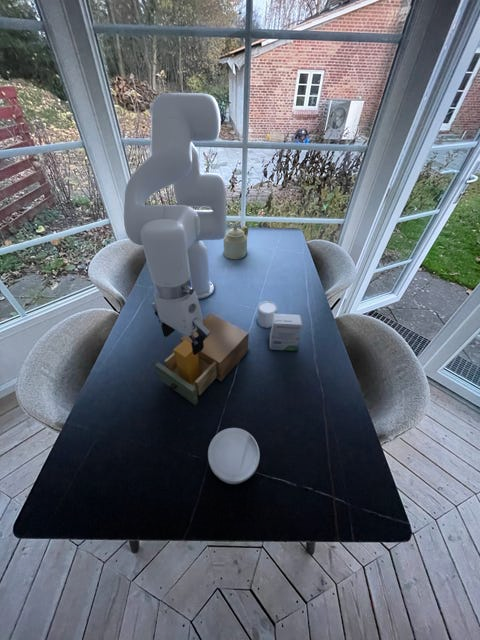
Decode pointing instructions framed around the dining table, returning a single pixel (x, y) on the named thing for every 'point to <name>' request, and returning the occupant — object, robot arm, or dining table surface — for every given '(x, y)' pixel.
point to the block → (187, 362)
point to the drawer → (180, 385)
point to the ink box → (285, 331)
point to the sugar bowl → (236, 242)
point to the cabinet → (222, 343)
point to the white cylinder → (266, 313)
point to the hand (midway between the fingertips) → (183, 341)
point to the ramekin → (233, 455)
